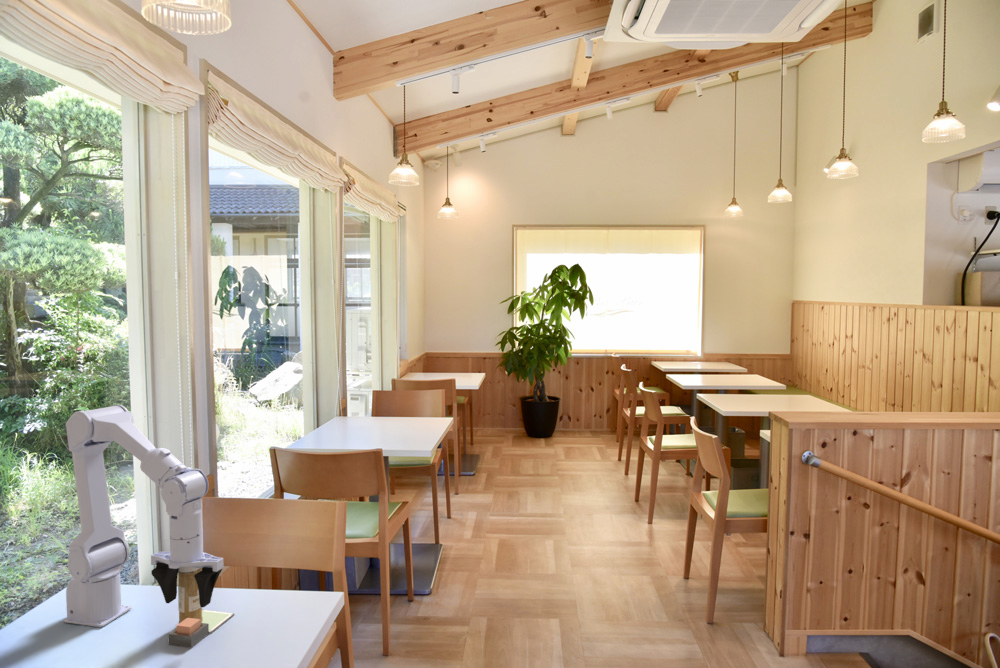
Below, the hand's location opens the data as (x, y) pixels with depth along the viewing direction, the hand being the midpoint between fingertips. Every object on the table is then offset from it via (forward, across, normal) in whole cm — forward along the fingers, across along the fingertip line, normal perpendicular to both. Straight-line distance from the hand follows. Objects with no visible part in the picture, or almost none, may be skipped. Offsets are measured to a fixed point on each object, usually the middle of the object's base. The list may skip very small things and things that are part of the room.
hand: (188, 602), depth 122 cm
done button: (+6, 0, 0) cm, 6 cm away
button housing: (+7, 0, 0) cm, 7 cm away
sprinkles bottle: (+7, -3, +5) cm, 9 cm away
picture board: (+7, -1, +6) cm, 10 cm away
